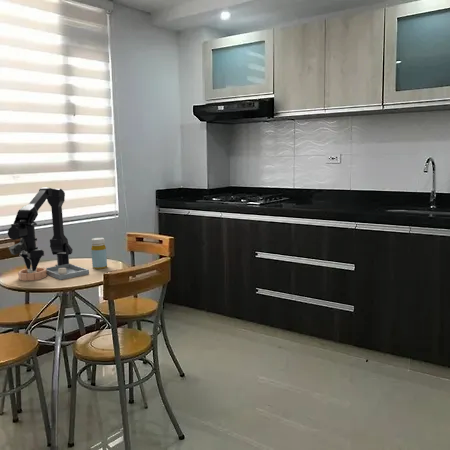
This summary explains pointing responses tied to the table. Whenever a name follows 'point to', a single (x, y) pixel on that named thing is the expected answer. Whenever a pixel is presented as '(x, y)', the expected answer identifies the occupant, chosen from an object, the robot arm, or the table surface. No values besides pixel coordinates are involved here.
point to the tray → (71, 271)
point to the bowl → (32, 274)
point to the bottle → (98, 253)
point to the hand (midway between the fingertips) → (31, 270)
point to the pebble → (62, 271)
